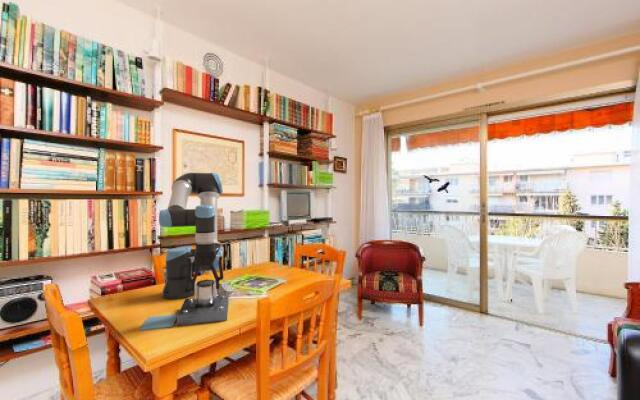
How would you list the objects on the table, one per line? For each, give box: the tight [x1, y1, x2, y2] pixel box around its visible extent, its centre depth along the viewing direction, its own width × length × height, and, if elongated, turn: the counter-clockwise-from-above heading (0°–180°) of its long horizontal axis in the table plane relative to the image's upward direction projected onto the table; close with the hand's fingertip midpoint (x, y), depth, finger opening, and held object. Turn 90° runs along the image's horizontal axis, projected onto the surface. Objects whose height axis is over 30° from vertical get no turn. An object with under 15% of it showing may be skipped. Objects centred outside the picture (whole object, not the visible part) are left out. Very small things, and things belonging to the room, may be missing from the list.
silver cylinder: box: [196, 279, 215, 308], centre depth 121 cm, size 7×7×12 cm
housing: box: [176, 295, 230, 327], centre depth 121 cm, size 18×18×5 cm
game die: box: [216, 280, 235, 297], centre depth 139 cm, size 9×8×10 cm
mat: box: [139, 313, 178, 331], centre depth 113 cm, size 11×11×1 cm
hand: (205, 297), depth 121 cm, fingers closed on silver cylinder, 7 cm apart
